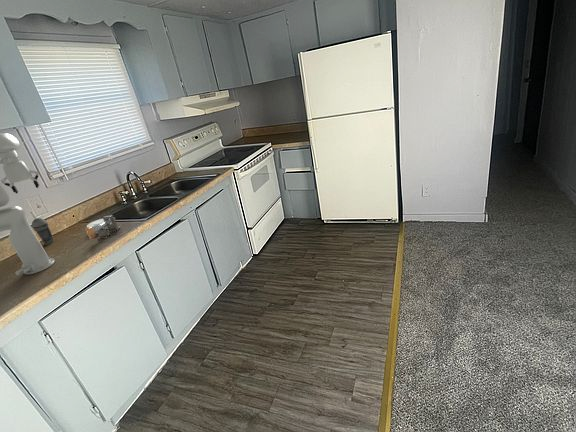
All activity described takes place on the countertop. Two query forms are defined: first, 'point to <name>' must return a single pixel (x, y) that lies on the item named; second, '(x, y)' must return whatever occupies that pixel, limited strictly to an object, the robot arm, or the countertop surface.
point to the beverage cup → (42, 230)
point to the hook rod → (96, 229)
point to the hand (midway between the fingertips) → (27, 190)
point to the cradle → (102, 233)
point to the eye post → (111, 224)
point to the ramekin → (96, 224)
